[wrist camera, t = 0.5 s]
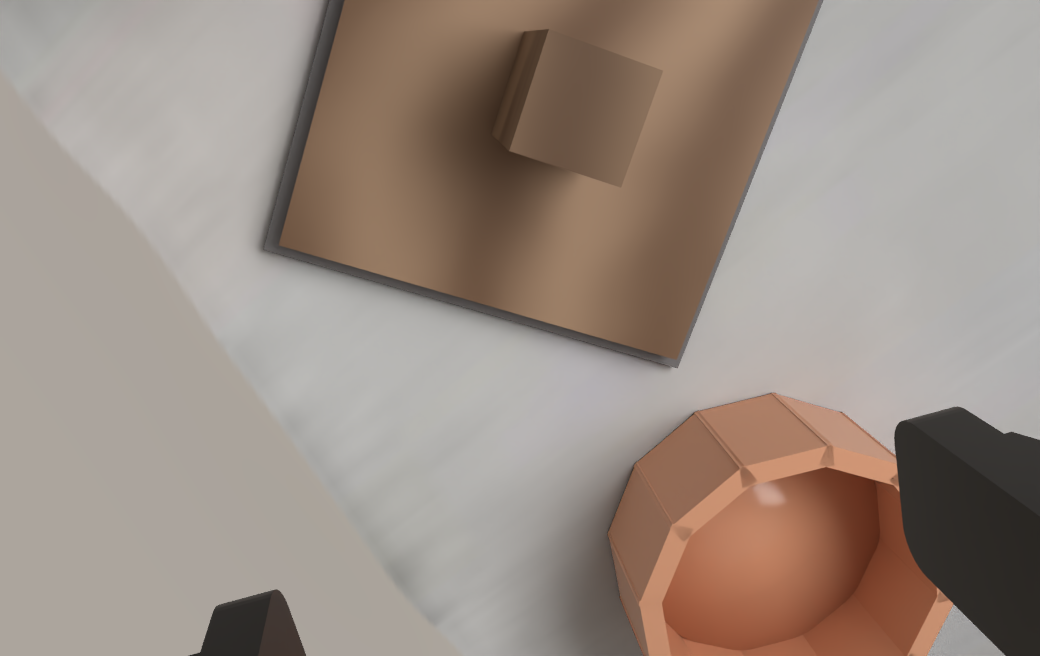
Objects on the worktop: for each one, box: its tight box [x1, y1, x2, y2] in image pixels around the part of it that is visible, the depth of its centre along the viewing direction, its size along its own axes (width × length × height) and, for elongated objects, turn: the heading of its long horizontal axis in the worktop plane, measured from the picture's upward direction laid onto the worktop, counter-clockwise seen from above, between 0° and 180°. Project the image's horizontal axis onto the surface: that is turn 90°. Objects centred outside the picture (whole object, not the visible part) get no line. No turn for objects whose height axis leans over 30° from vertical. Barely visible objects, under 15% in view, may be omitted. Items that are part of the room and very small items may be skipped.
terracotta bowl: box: [607, 393, 953, 656], centre depth 36 cm, size 12×12×5 cm
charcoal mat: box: [264, 0, 823, 368], centre depth 32 cm, size 16×16×1 cm
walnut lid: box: [279, 0, 819, 360], centre depth 29 cm, size 15×15×6 cm
